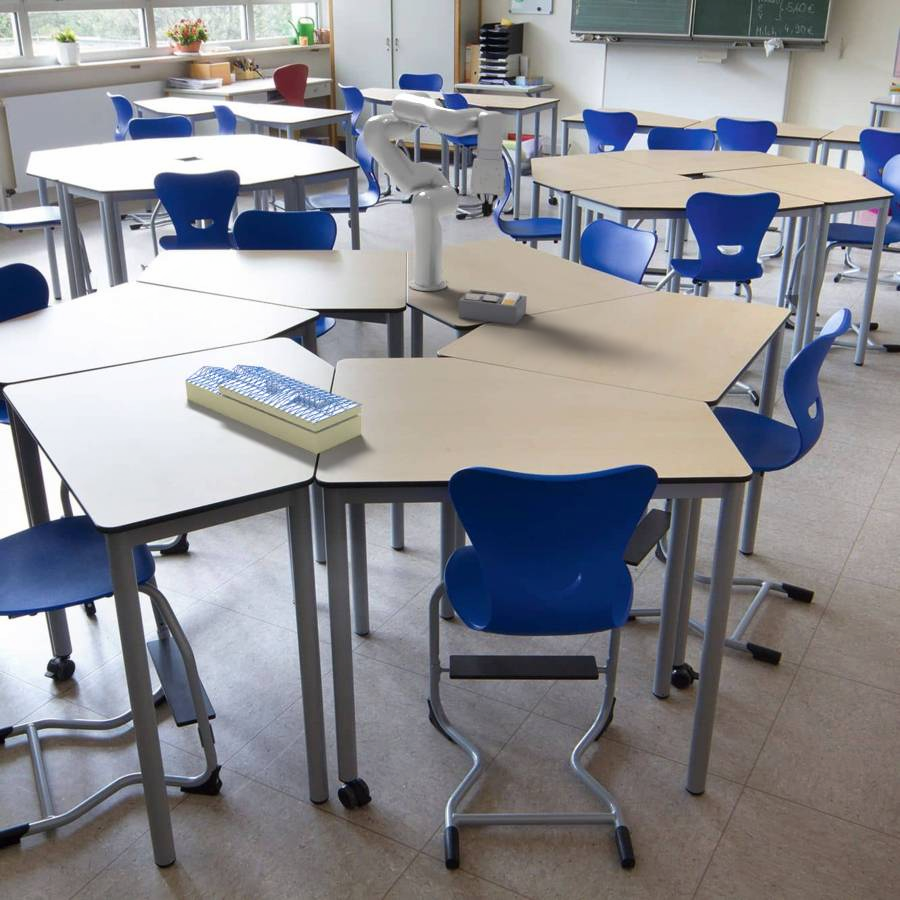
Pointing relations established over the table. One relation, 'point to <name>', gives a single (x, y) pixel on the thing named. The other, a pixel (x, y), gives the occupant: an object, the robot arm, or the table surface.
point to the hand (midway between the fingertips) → (487, 215)
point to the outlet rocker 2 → (491, 298)
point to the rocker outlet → (511, 298)
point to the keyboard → (278, 406)
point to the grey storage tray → (492, 309)
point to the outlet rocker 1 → (474, 296)
